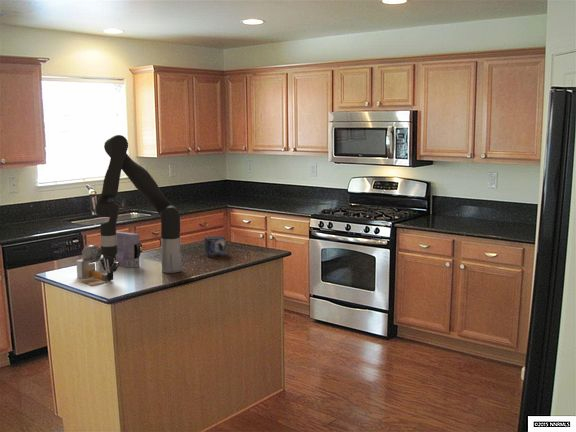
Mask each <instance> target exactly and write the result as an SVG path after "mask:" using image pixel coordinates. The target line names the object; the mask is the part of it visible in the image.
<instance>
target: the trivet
mask: <svg viewBox="0 0 576 432" xmlns="http://www.w3.org/2000/svg"><path fill="white" fill-rule="evenodd" d="M80 282H81V283H83V284H85V285H89V286H92V287H95V286H99V285H103V284H104V285H105V284H107V281H103V280H101V279H98V278H95V277H91V278H86V279H82V280H81V281H80Z"/></svg>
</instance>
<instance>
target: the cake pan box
mask: <svg viewBox="0 0 576 432" xmlns="http://www.w3.org/2000/svg"><path fill="white" fill-rule="evenodd" d="M116 236H117V250H118V253H117V254H116V255H115V256H116V261H117V262H119V263H120V264H119V266H118V267H122V268H123V267H125V268H131V269H135V268H138V267H140V256H141V250H142V249H141V248H142V247H141V244H140V234H139V233H133V232H126V231H117V230H116Z"/></svg>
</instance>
